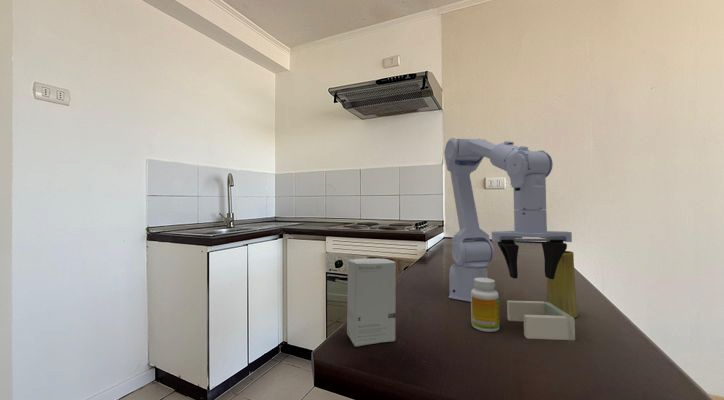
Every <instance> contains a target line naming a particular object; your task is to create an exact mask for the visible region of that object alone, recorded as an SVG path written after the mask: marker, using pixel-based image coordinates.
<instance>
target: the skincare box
mask: <svg viewBox="0 0 724 400" xmlns="http://www.w3.org/2000/svg"><path fill="white" fill-rule="evenodd" d="M396 267H397V266H396V261H394V260H391V259H387V258H380V257H379V258H351V259H347V303H346V304H347V306H346V307H347V313H346V314H347V317H346V334H347V336H348V337H349V339H350V341H351V343H352V345H353V347H355V348H356V347H361V346H368V345H373V344H381V343H387V342H388V343H391V342H395V341H396V293H397V292H396V289H397V288H396V287H397V286H396V285H397V283H396V282H397V281H396V280H397V279H396V278H397V277H396V276H397V275H396V274H397V271H396V270H397V268H396Z"/></svg>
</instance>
